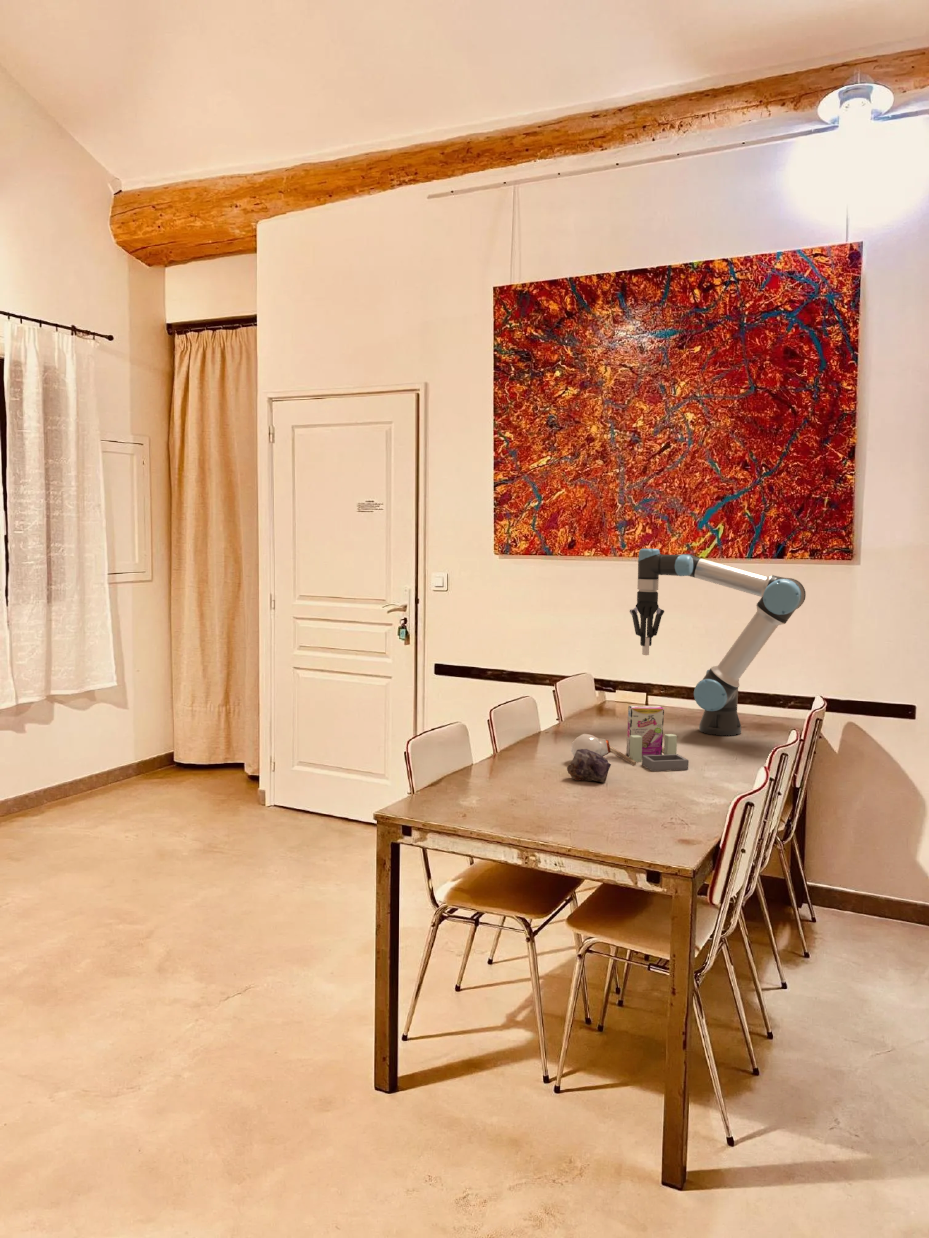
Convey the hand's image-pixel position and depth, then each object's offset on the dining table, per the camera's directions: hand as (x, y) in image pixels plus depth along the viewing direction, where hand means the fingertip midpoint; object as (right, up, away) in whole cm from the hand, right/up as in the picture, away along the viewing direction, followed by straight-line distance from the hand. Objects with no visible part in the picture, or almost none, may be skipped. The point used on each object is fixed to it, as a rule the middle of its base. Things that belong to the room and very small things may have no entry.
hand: (645, 654), depth 356 cm
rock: (-29, -35, -68) cm, 82 cm away
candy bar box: (-7, -32, -37) cm, 49 cm away
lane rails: (-7, -32, -35) cm, 48 cm away
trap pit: (-4, -33, -52) cm, 62 cm away
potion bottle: (-26, -33, -45) cm, 62 cm away
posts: (-6, -33, -43) cm, 54 cm away
